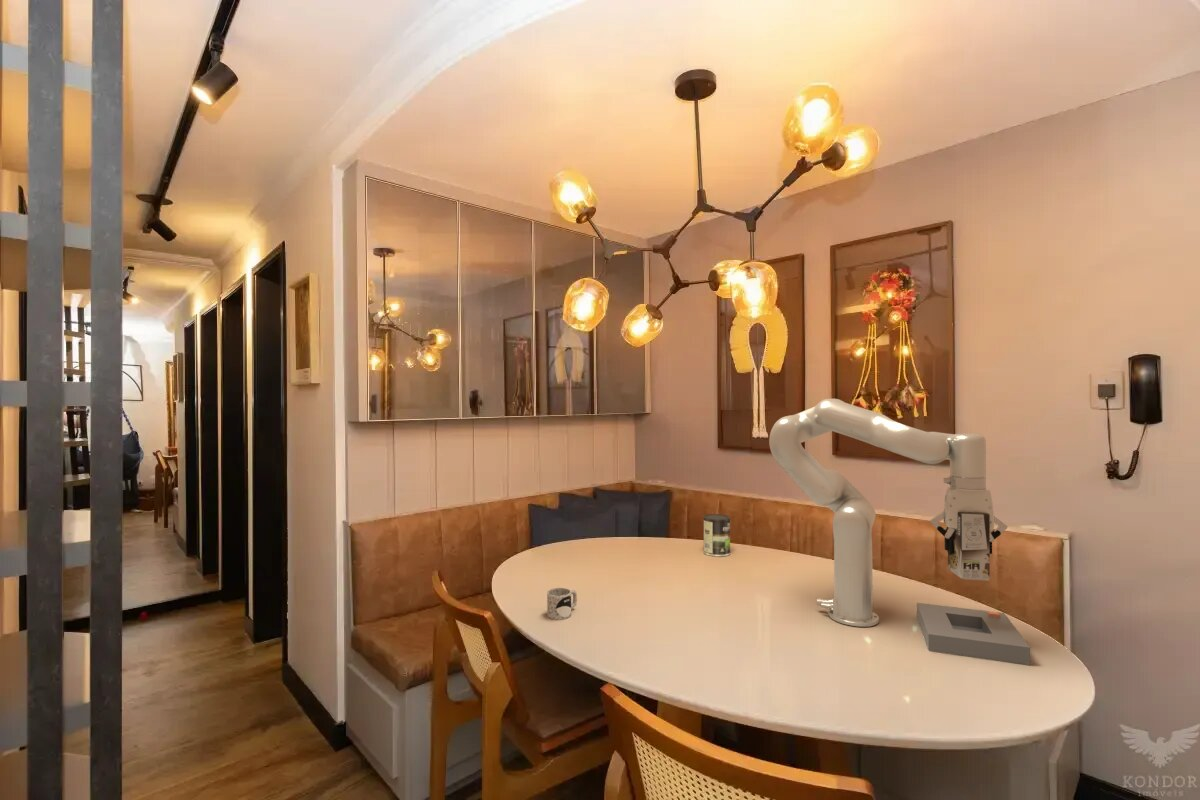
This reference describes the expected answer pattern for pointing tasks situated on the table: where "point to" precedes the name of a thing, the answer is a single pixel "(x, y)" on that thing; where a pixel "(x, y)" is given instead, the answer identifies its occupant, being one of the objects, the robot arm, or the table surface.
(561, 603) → the mug
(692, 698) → the table surface
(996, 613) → the socket
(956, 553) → the coffee box
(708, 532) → the coffee can
